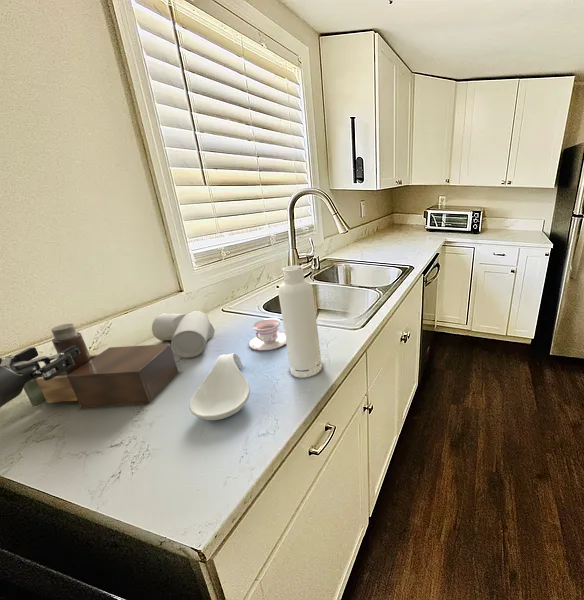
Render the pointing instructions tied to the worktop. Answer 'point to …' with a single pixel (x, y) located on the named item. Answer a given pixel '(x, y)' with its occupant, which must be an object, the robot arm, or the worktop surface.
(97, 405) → the cabinet
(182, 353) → the l-shaped cylinder
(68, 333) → the pepper mill
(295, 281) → the bottle
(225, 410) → the spoon rest
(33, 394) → the drawer
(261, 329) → the teacup
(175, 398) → the worktop surface
